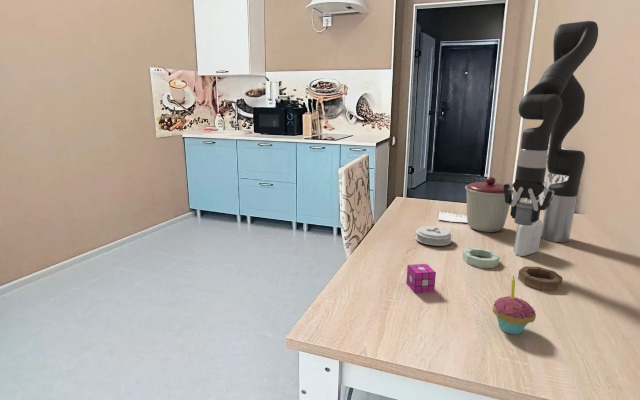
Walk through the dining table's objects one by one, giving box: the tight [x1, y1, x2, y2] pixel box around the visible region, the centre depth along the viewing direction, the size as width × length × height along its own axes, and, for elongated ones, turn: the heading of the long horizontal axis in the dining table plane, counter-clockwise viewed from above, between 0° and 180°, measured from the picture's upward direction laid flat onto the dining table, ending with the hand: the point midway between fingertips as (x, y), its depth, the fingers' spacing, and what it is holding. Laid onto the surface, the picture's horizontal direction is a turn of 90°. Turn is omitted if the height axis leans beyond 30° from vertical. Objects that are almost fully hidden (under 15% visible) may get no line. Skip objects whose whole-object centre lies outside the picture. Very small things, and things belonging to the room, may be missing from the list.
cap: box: [514, 201, 534, 226], centre depth 117 cm, size 5×5×6 cm
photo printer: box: [513, 218, 543, 257], centre depth 130 cm, size 10×4×12 cm, turn 123°
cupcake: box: [492, 275, 537, 335], centre depth 86 cm, size 9×8×12 cm
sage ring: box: [462, 247, 501, 269], centre depth 124 cm, size 10×10×2 cm
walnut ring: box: [517, 266, 563, 292], centre depth 110 cm, size 10×10×2 cm
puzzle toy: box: [405, 263, 437, 294], centre depth 105 cm, size 6×6×6 cm
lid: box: [415, 225, 453, 247], centre depth 141 cm, size 13×13×5 cm
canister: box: [464, 176, 516, 233], centre depth 154 cm, size 18×18×21 cm
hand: (523, 219), depth 118 cm, fingers closed on cap, 5 cm apart
